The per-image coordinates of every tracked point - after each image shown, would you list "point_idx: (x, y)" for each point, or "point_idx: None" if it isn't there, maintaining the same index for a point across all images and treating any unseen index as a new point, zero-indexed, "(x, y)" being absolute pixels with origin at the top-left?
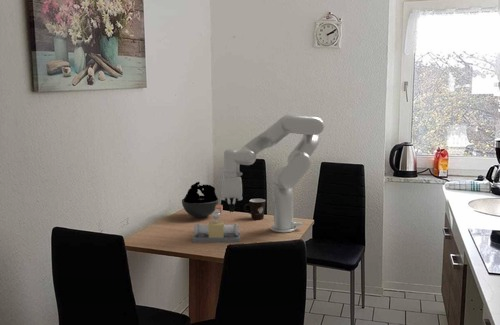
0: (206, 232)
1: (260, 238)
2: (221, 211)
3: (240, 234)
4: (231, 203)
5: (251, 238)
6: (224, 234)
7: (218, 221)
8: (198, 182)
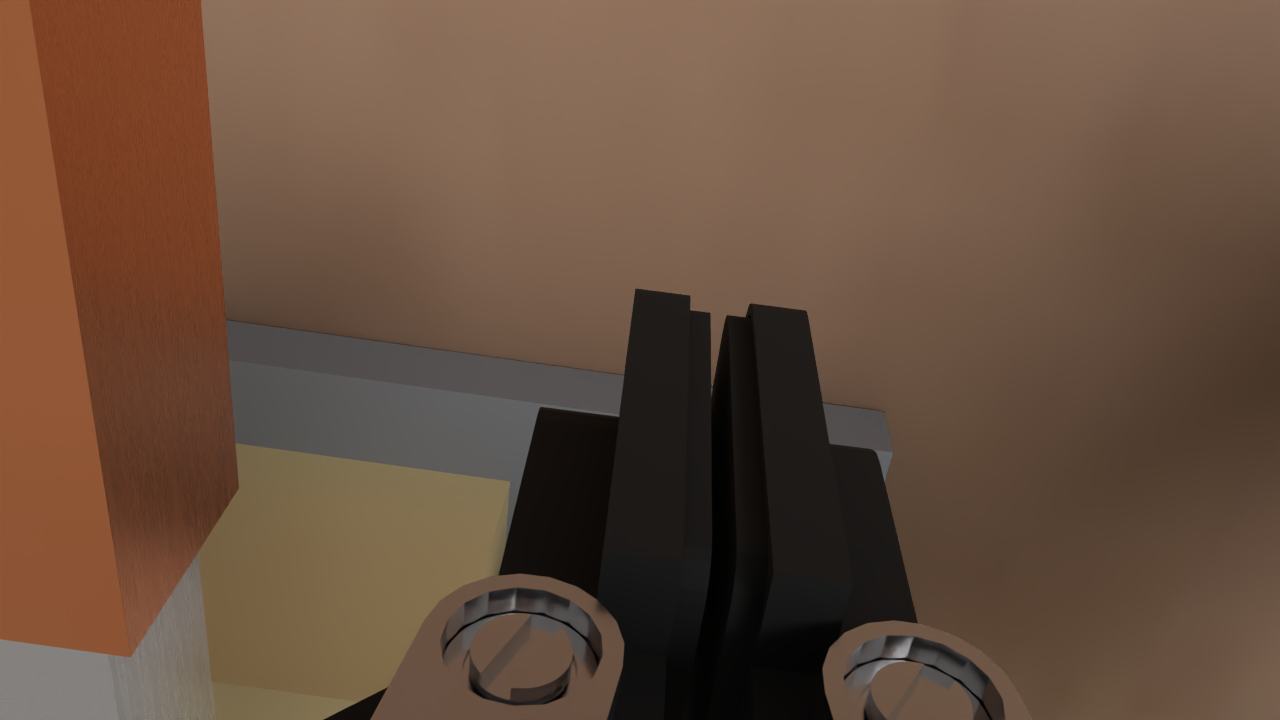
0: None
1: (1261, 631)
2: (207, 485)
3: (886, 439)
4: (686, 642)
5: (1076, 604)
6: (507, 516)
7: (266, 693)
8: None
